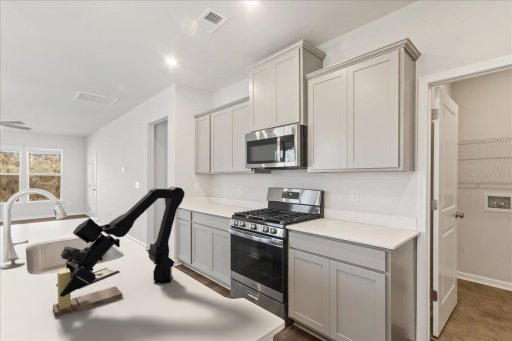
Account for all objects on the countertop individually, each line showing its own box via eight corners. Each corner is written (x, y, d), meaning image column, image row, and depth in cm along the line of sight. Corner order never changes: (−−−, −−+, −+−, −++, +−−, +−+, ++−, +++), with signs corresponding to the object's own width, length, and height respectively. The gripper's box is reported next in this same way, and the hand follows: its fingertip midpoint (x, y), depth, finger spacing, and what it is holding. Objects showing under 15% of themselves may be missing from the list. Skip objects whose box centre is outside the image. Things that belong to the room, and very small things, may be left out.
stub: (68, 306, 90) (68, 268, 90) (70, 310, 87) (70, 271, 87) (57, 309, 88) (57, 270, 88) (59, 314, 85) (59, 274, 85)
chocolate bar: (64, 283, 106) (106, 267, 123) (64, 285, 106) (106, 269, 123) (78, 287, 103) (119, 271, 119) (78, 290, 103) (119, 273, 119)
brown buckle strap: (116, 289, 102) (115, 285, 102) (122, 297, 96) (122, 292, 96) (52, 308, 88) (52, 303, 88) (55, 318, 83) (55, 313, 83)
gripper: (73, 232, 97) (34, 270, 89) (83, 243, 83) (38, 288, 76) (98, 249, 102) (63, 286, 95) (111, 261, 88) (71, 306, 81)
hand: (59, 291), depth 86 cm, fingers open, 9 cm apart
